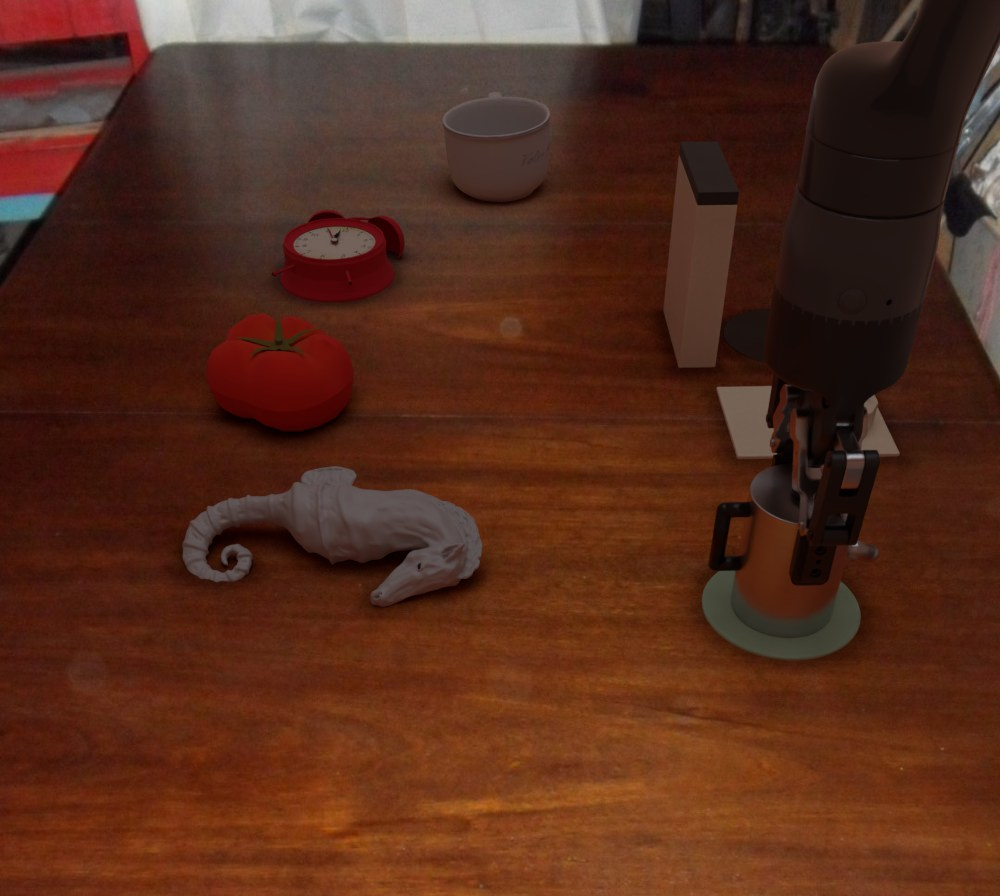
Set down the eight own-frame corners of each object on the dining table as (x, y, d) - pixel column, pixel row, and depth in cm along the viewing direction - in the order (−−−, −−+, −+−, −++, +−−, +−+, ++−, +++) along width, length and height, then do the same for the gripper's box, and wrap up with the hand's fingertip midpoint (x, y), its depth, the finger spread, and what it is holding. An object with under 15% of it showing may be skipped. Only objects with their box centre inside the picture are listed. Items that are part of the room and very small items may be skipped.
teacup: (541, 217, 120) (543, 134, 114) (435, 211, 121) (432, 128, 115) (558, 166, 129) (560, 86, 124) (460, 160, 131) (458, 81, 125)
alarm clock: (253, 267, 104) (308, 165, 111) (269, 325, 109) (320, 224, 117) (366, 279, 102) (414, 175, 109) (376, 338, 107) (422, 235, 115)
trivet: (838, 565, 80) (840, 555, 79) (875, 666, 73) (878, 656, 72) (690, 568, 80) (691, 558, 79) (713, 669, 73) (714, 659, 72)
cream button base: (863, 397, 95) (871, 363, 93) (896, 467, 88) (906, 432, 86) (714, 400, 95) (719, 365, 93) (735, 470, 88) (741, 435, 86)
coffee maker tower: (696, 319, 104) (717, 141, 94) (713, 377, 97) (739, 191, 87) (662, 320, 104) (680, 141, 94) (677, 378, 97) (698, 191, 87)
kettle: (853, 571, 78) (884, 452, 72) (877, 636, 74) (913, 514, 67) (694, 575, 78) (712, 455, 71) (709, 639, 73) (729, 518, 67)
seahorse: (168, 619, 74) (483, 568, 73) (168, 469, 79) (463, 419, 78) (197, 656, 79) (493, 609, 78) (195, 512, 84) (474, 466, 83)
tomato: (304, 459, 89) (293, 380, 84) (193, 419, 93) (176, 341, 88) (379, 401, 95) (373, 324, 90) (272, 366, 99) (260, 290, 94)
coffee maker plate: (826, 317, 105) (828, 307, 104) (853, 375, 98) (855, 364, 97) (713, 319, 104) (714, 308, 104) (732, 377, 97) (733, 366, 97)
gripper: (966, 348, 55) (885, 619, 67) (887, 220, 66) (829, 475, 77) (806, 350, 55) (753, 621, 67) (752, 222, 65) (714, 477, 77)
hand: (794, 542), depth 72 cm, fingers open, 7 cm apart
